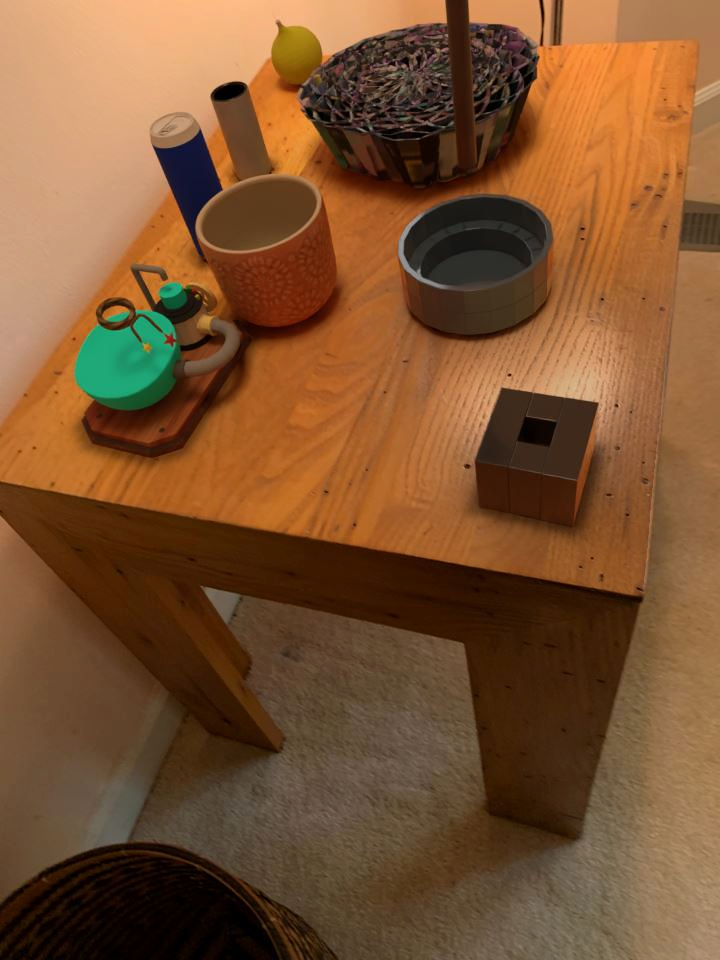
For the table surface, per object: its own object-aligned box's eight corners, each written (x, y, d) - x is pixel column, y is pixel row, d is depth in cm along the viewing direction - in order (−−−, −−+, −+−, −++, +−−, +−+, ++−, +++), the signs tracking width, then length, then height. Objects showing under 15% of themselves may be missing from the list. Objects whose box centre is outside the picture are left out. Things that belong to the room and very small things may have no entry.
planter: (286, 360, 73) (253, 270, 64) (207, 315, 79) (168, 228, 70) (370, 287, 77) (350, 193, 68) (289, 250, 83) (261, 160, 75)
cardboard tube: (250, 186, 92) (223, 105, 84) (230, 175, 95) (202, 95, 87) (278, 168, 94) (255, 86, 85) (258, 157, 96) (233, 77, 88)
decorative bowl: (500, 228, 82) (504, 144, 73) (276, 194, 90) (258, 114, 82) (555, 103, 94) (564, 19, 86) (355, 83, 102) (346, 4, 94)
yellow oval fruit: (275, 97, 105) (254, 21, 97) (283, 72, 109) (263, -3, 101) (324, 90, 103) (307, 13, 96) (330, 65, 108) (314, -11, 100)
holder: (593, 451, 60) (598, 402, 55) (573, 526, 56) (577, 480, 52) (503, 435, 63) (501, 386, 58) (478, 506, 59) (474, 460, 54)
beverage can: (219, 231, 88) (171, 106, 76) (251, 241, 86) (206, 114, 74) (190, 257, 86) (136, 133, 74) (222, 268, 83) (171, 142, 72)
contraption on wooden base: (281, 330, 76) (234, 198, 64) (195, 468, 67) (122, 345, 55) (167, 312, 81) (104, 187, 69) (74, 438, 72) (-17, 320, 60)
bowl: (565, 251, 75) (568, 198, 70) (530, 350, 68) (531, 299, 63) (431, 239, 80) (425, 189, 75) (386, 330, 73) (376, 281, 68)
